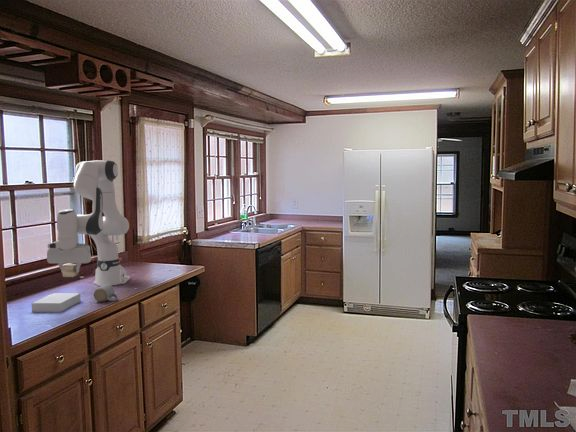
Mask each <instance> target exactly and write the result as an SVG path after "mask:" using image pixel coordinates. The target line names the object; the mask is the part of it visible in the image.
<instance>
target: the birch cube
mask: <svg viewBox="0 0 576 432" xmlns="http://www.w3.org/2000/svg"><path fill="white" fill-rule="evenodd" d="M76 268H77V265H76V263H66V264H65V265H63V266H62V272H61V273H62V277H63V278H74V277H76V276H78V275H79V272H75V271H74V269H76Z"/></svg>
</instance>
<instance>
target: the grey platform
mask: <svg viewBox="0 0 576 432" xmlns="http://www.w3.org/2000/svg"><path fill="white" fill-rule="evenodd" d="M81 301H82V300H81V293H80V292H79V293H78V292H77V293H76V292H68V293H67V292H65V293H64V292H62V293H61V292H60V293H59V292H53V293H51V294H49V295H46V296H44V297H41V298H40V299H38V300H35V301H34V302H32V303H31V312H34V313H35V312H38V313H39V312H43V313H44V312H45V313H48V312H51V313H59V312H60V313H61V311H62V312H63V311H65V310H67V309H69V308H71V307H72V306H75V305H77V304H79V303H80V302H81Z"/></svg>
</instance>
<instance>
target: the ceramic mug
mask: <svg viewBox="0 0 576 432" xmlns="http://www.w3.org/2000/svg"><path fill="white" fill-rule="evenodd" d="M93 298H94V300H95V301H97V302H98V303H99V302H100V303H103V302H106V301H110V302H116V301H118V298H119V296H118V295H117V294H116V293H115V289H114V287H113V285H110V284H103V285H102V286H99V287H97V288H96V289H95V291H93Z"/></svg>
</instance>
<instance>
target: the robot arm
mask: <svg viewBox="0 0 576 432" xmlns="http://www.w3.org/2000/svg"><path fill="white" fill-rule="evenodd" d="M118 173H119V167H118V165H117V163H116V162H115V161H113V160H101V159H100V160H98V159H96V160H88V161H86V160H85V161H80V162H78V163H77V164H76V166H75V177H74V182H73V188H74V191H75V192H76V193H77V194H78V195H79V196H80V197H82V198H85V199H88V200H90V201H92V212H91V213H89V214H77V213H76V210H75V209H73V208H65V209H61V210H58V212H57V215H56V230H57V240H55V241H54V242H53V241H52V242H51V243H48V244H47V252H46V261H47V263H48V264H57V265H58V267H59V268H60V272H61V273H62V266H64V264H76V265H77V268H76V269H74V271H75V272H78V273H79V272H80V268H81V266H82V264H89V263H91V261H92V254H91V246H90V245H89V244H88V243H79V235H89V236H90V238H91V239H92V240H93V241H94V244H95V246H96V251H97V252H96V253H97V260H96V265H97V266H96V267H97V268H96V269H95V276H94V277H95V279H94V281H93V282H92V283H93V284H94V285H96V286H99V287H100V286H102V285H103V284H110V285H111V286H117V285H122V284H126V283H127V282H128V281H129V280H130V279H131V276H128V275H127V273H126V268H124V267H123V265H121V261H122V257H119V247H118V245H117V243H116V242H114V241H112V240H111V239H110V238H109V237H110V236H121V235H125V234H127V232H128V231H129V229H130V223H129V220H128V219H127V218H126V217H125V216H123V214H121V213H120V211H119V208H118V207H117V203H116V202H117V201H116V194H115V193H116V192H115V184H114V180H116V178H117V177H118Z"/></svg>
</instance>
